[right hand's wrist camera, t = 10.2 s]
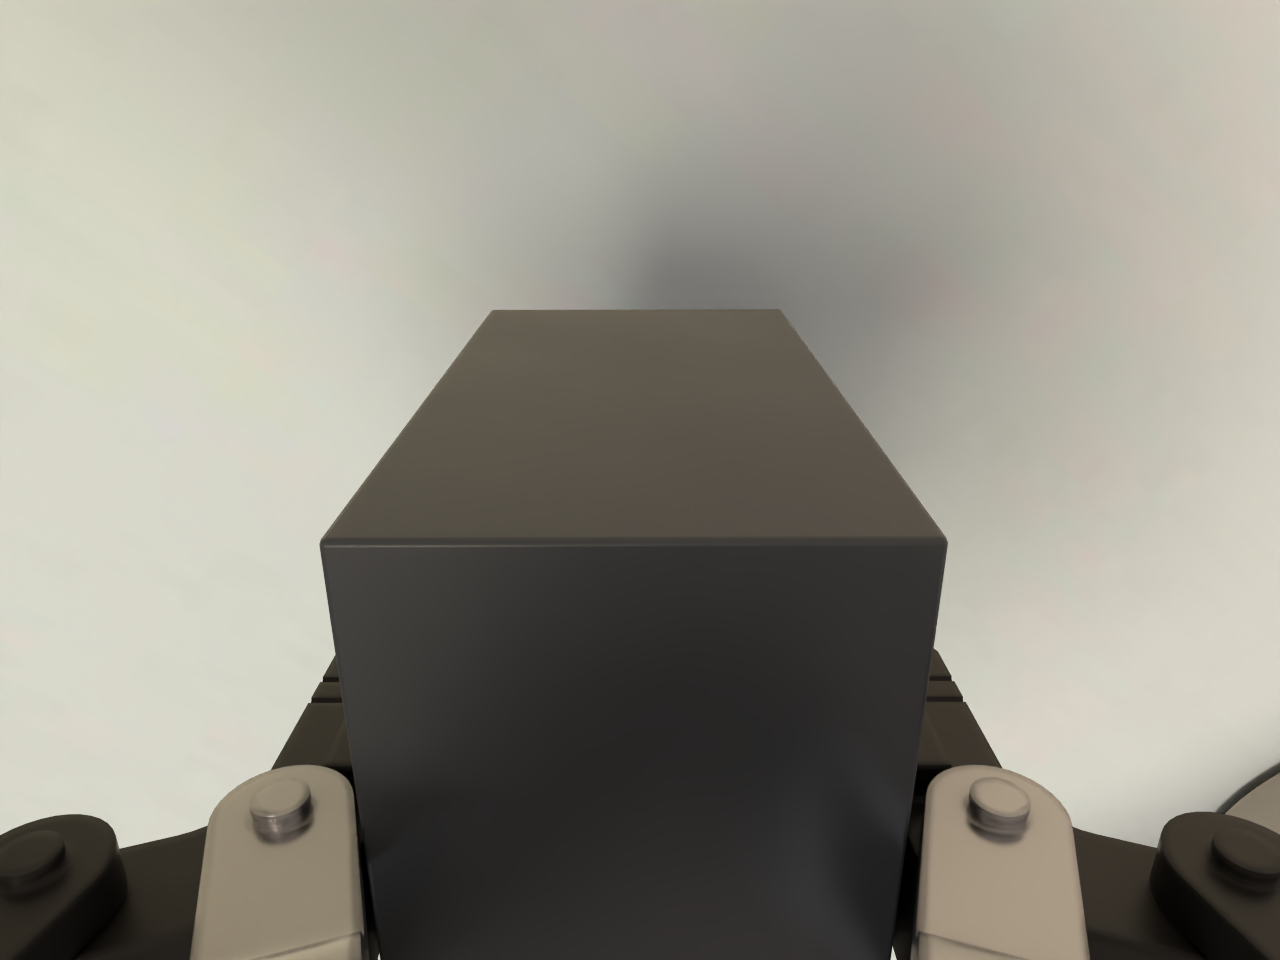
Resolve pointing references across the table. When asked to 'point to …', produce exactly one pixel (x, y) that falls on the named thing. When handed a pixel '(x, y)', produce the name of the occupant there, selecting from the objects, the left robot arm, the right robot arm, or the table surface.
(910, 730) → the bar
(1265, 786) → the bust sculpture
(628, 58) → the table surface
